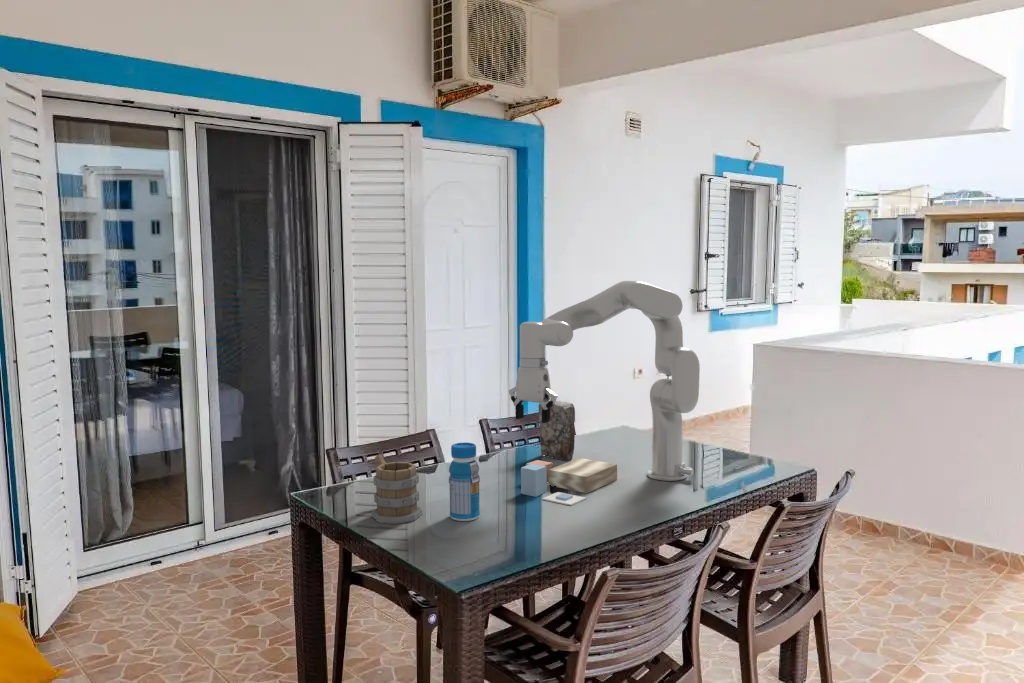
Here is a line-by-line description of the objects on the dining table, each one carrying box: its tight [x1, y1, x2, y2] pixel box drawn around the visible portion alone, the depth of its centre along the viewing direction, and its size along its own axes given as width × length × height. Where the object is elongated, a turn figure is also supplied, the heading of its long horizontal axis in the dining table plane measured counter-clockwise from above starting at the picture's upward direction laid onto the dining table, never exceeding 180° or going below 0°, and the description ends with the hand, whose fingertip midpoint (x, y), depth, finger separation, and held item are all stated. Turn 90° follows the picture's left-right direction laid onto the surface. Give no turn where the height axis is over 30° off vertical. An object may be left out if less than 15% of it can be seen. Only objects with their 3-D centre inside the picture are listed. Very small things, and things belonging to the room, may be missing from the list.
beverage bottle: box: [448, 442, 481, 522], centre depth 203 cm, size 8×8×20 cm
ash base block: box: [548, 457, 618, 494], centre depth 236 cm, size 14×18×5 cm
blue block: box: [520, 464, 548, 498], centre depth 225 cm, size 6×6×8 cm
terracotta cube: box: [525, 459, 553, 482], centre depth 238 cm, size 6×6×6 cm
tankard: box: [371, 453, 423, 525], centre depth 208 cm, size 20×13×15 cm, turn 30°
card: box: [541, 491, 587, 507], centre depth 219 cm, size 10×8×1 cm
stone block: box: [538, 400, 576, 462], centre depth 268 cm, size 13×7×20 cm, turn 49°
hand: (532, 420), depth 223 cm, fingers open, 9 cm apart
